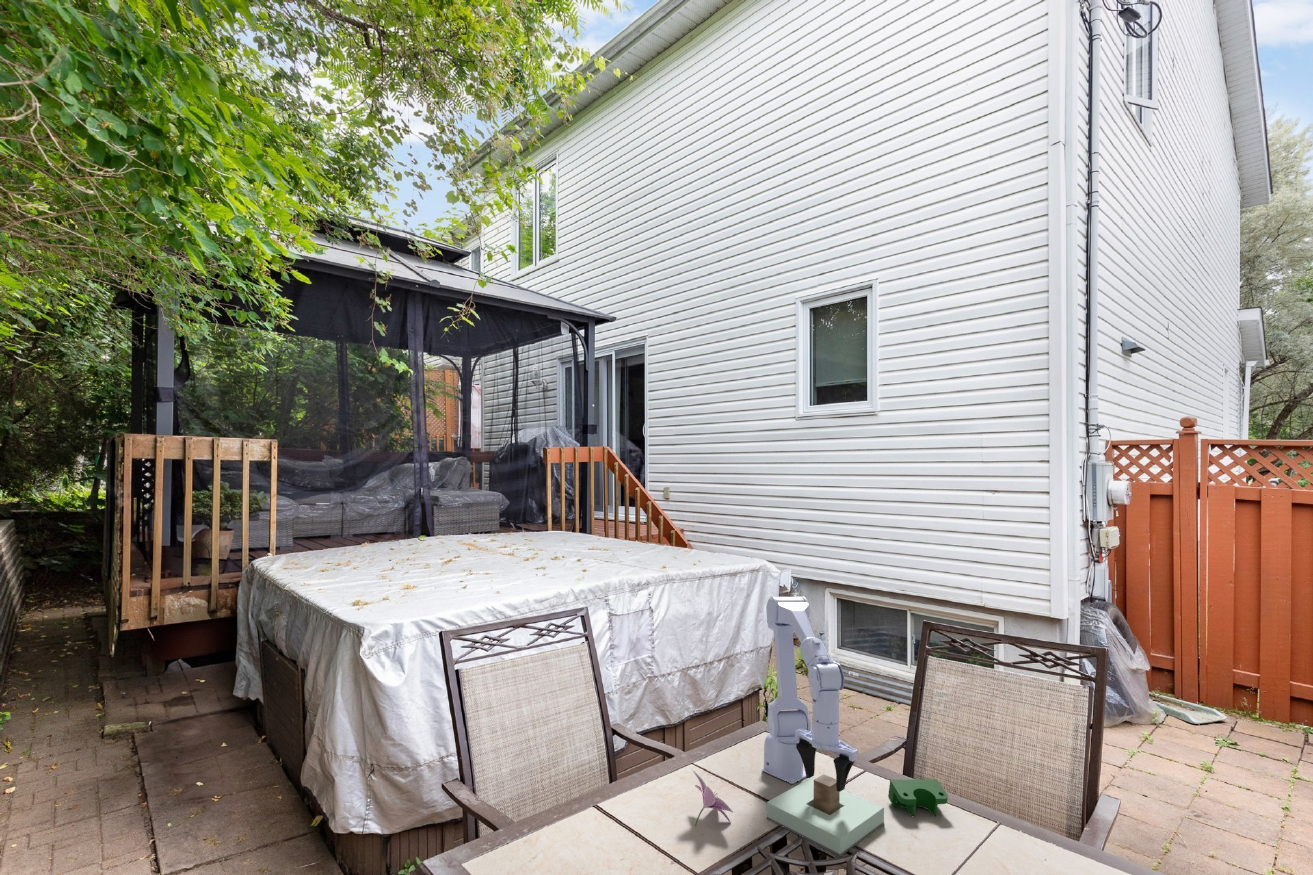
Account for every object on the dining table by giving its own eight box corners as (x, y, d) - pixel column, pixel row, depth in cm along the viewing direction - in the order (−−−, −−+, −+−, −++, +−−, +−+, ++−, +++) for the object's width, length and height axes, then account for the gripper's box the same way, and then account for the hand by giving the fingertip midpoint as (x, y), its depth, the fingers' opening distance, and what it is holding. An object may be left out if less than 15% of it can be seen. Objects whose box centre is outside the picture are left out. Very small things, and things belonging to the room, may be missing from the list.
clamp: (906, 834, 139) (894, 802, 137) (894, 813, 145) (883, 782, 143) (955, 815, 139) (945, 782, 137) (941, 795, 145) (931, 763, 143)
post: (813, 817, 136) (813, 779, 136) (823, 811, 138) (823, 774, 139) (829, 825, 133) (829, 786, 133) (839, 818, 136) (839, 780, 136)
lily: (732, 847, 127) (748, 797, 130) (679, 822, 127) (697, 773, 131) (719, 834, 138) (734, 788, 142) (671, 811, 138) (687, 766, 142)
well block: (766, 818, 136) (766, 802, 136) (812, 792, 148) (812, 776, 148) (840, 856, 122) (840, 838, 123) (884, 824, 135) (884, 807, 135)
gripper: (787, 714, 139) (786, 776, 138) (845, 734, 129) (845, 802, 128) (805, 706, 144) (804, 767, 143) (862, 726, 133) (862, 791, 133)
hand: (825, 783), depth 136 cm, fingers open, 7 cm apart
